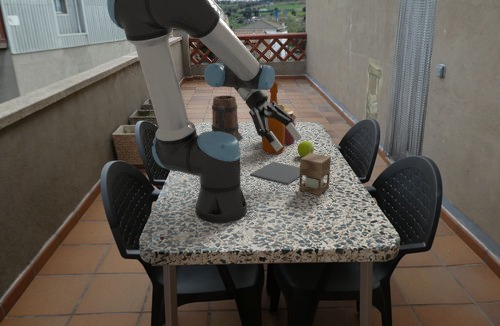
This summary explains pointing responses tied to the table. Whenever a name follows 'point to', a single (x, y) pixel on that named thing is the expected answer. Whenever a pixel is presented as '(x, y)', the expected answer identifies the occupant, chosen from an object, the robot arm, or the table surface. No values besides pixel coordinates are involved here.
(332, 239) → the table surface
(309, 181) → the block
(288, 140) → the canister
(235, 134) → the tankard
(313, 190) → the wooden nightstand
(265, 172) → the mat
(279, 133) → the wine bottle
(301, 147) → the tennis ball
